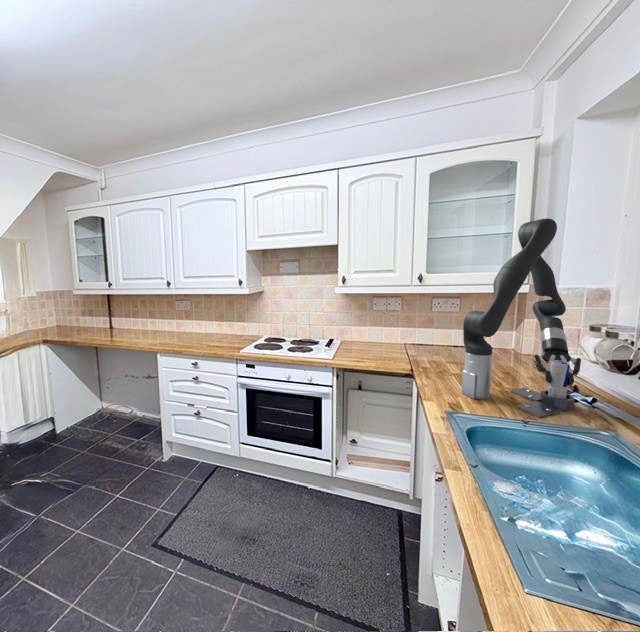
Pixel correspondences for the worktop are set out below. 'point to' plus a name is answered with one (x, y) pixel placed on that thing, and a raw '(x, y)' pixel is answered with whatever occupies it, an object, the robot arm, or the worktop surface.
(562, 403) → the grey can holder
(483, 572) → the worktop surface
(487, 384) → the robot arm
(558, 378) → the beverage can
